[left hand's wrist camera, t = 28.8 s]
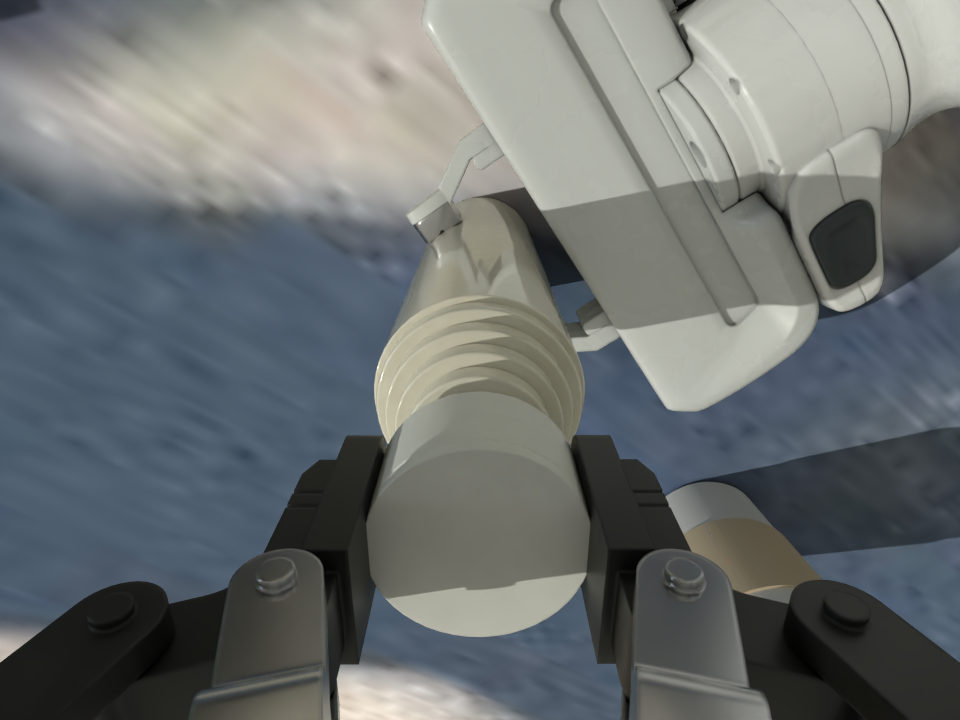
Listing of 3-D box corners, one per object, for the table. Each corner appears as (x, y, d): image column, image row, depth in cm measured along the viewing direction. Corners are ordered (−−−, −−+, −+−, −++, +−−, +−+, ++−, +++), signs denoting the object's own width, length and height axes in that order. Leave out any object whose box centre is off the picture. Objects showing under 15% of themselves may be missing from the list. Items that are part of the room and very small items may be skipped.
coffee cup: (747, 590, 41) (882, 834, 27) (615, 572, 41) (685, 812, 27) (794, 476, 38) (975, 689, 24) (651, 455, 37) (752, 660, 23)
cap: (466, 584, 13) (463, 669, 11) (341, 465, 12) (314, 536, 10) (613, 488, 13) (639, 562, 10) (493, 350, 11) (495, 403, 9)
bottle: (500, 316, 34) (531, 677, 12) (411, 269, 33) (278, 572, 11) (551, 229, 32) (693, 473, 11) (459, 177, 31) (409, 328, 10)
